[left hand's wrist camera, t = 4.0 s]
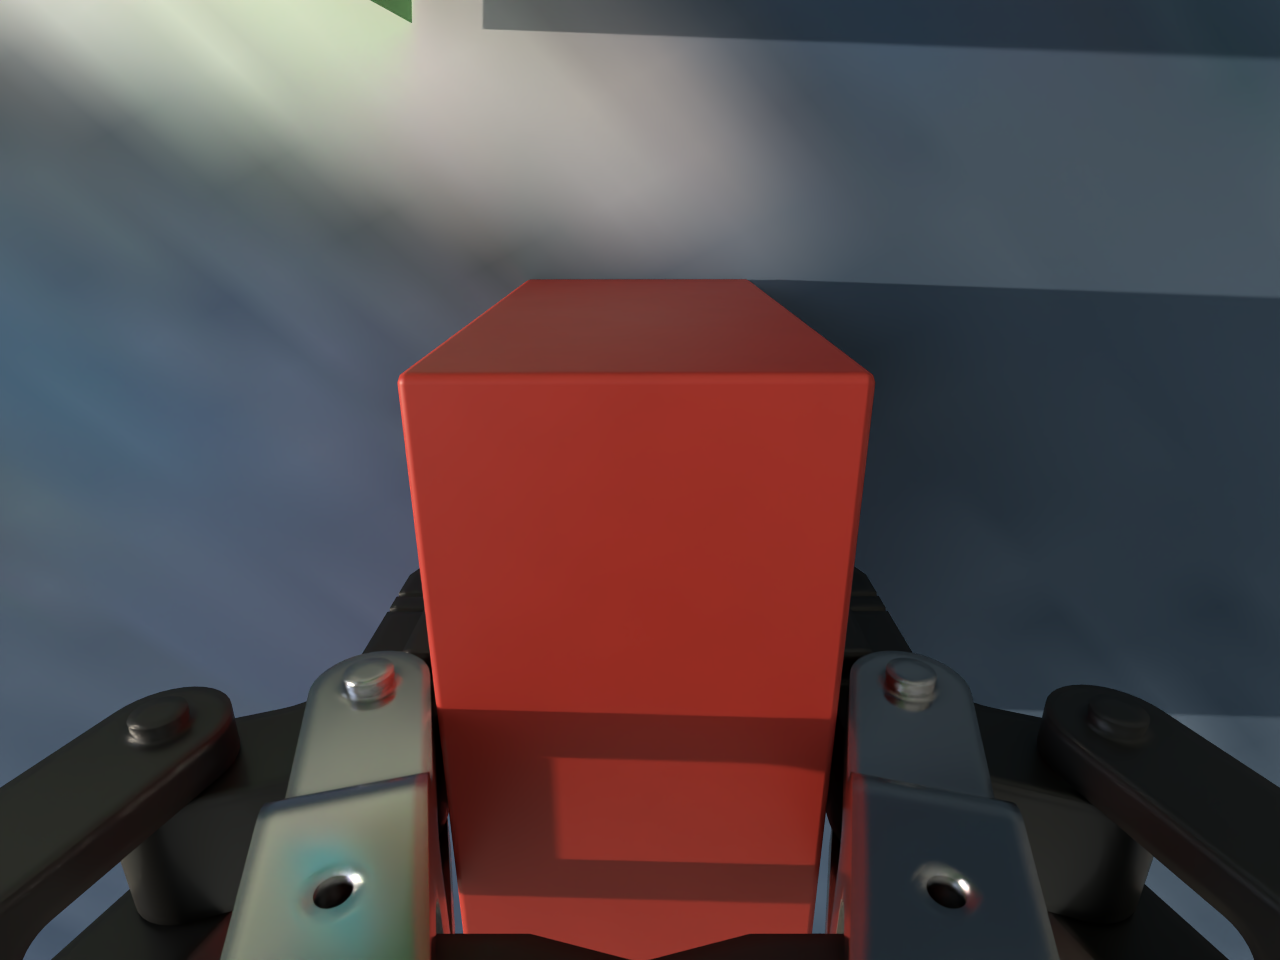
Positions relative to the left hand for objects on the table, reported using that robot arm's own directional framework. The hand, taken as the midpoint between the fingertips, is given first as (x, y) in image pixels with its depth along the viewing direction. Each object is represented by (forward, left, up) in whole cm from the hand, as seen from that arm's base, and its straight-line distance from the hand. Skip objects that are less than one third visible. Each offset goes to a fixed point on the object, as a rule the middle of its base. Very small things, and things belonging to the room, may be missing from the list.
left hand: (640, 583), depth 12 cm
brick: (0, 0, -3) cm, 3 cm away
